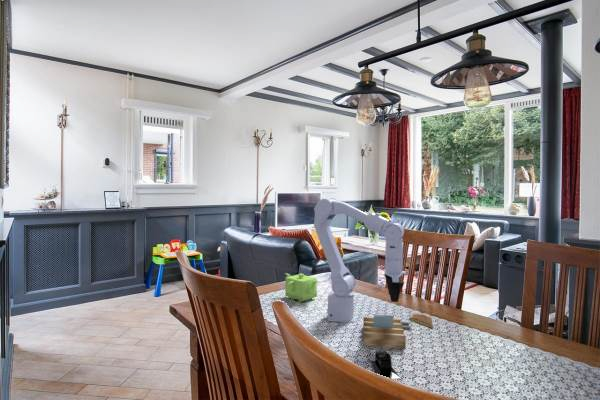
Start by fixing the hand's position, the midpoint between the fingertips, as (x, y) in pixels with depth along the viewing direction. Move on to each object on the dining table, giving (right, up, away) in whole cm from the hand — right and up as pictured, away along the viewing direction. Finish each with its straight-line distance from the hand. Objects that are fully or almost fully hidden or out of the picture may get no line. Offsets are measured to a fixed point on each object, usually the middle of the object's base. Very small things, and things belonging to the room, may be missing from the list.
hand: (393, 298), depth 122 cm
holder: (+2, -10, 0) cm, 10 cm away
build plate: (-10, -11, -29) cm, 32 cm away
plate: (-6, -9, -9) cm, 14 cm away
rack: (-6, -10, -9) cm, 15 cm away
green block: (-31, -9, +32) cm, 46 cm away
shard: (+13, -11, +5) cm, 18 cm away
